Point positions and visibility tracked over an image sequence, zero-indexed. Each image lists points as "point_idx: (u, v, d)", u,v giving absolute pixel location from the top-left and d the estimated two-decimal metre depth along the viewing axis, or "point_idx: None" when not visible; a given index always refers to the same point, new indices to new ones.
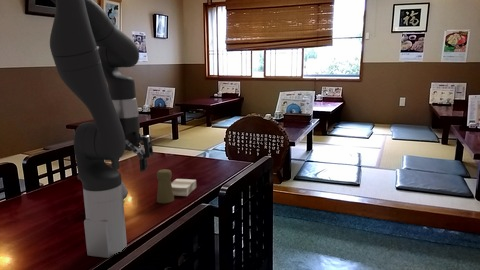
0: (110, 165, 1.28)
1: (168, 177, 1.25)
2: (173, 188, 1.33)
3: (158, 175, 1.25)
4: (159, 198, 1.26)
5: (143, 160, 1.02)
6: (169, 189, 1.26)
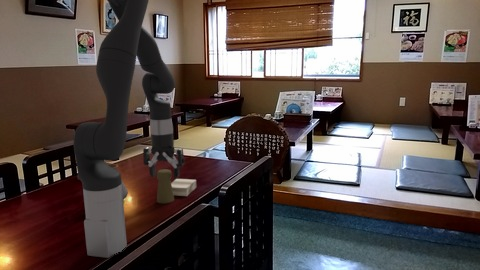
0: (110, 165, 1.28)
1: (168, 177, 1.25)
2: (173, 188, 1.33)
3: (158, 175, 1.25)
4: (159, 198, 1.26)
5: (176, 169, 1.25)
6: (169, 189, 1.26)
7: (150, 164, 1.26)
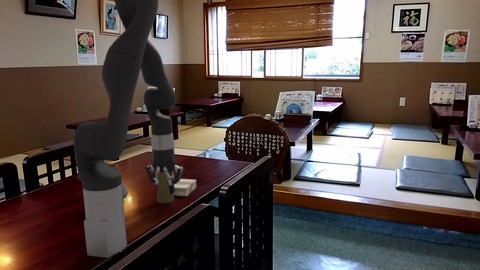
0: (110, 165, 1.28)
1: None
2: None
3: (158, 175, 1.25)
4: (159, 198, 1.26)
5: (171, 186, 1.26)
6: None
7: (157, 182, 1.26)
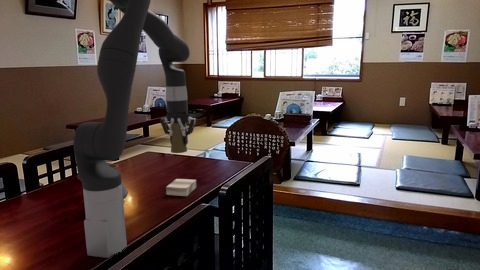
0: (110, 165, 1.28)
1: None
2: (173, 188, 1.33)
3: (172, 126, 1.31)
4: (173, 148, 1.32)
5: (185, 137, 1.32)
6: (182, 140, 1.32)
7: (171, 133, 1.33)
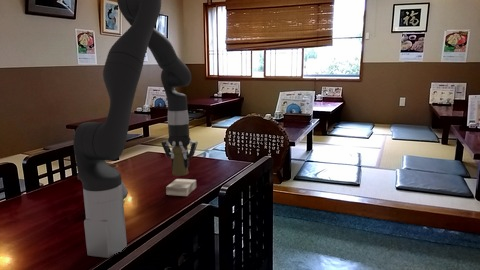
0: (110, 165, 1.28)
1: None
2: (173, 188, 1.33)
3: (174, 149, 1.32)
4: (174, 171, 1.34)
5: (186, 159, 1.34)
6: None
7: (172, 156, 1.34)
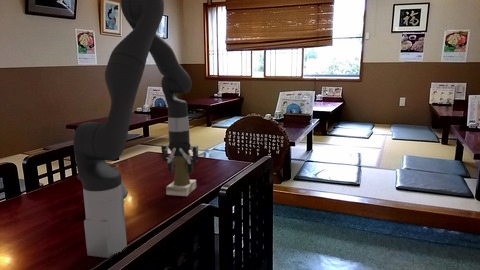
0: (110, 165, 1.28)
1: (185, 161, 1.34)
2: (173, 188, 1.33)
3: (176, 159, 1.33)
4: (176, 181, 1.34)
5: (190, 164, 1.34)
6: (186, 172, 1.35)
7: (169, 160, 1.35)
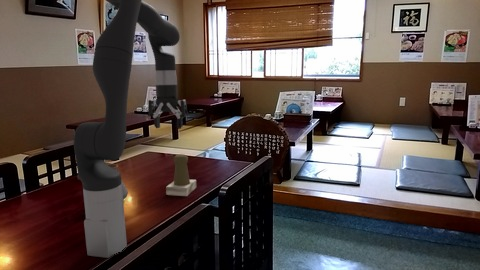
0: (110, 165, 1.28)
1: (185, 161, 1.34)
2: (173, 188, 1.33)
3: (176, 159, 1.33)
4: (176, 181, 1.34)
5: (180, 119, 1.30)
6: (186, 172, 1.35)
7: (155, 115, 1.32)
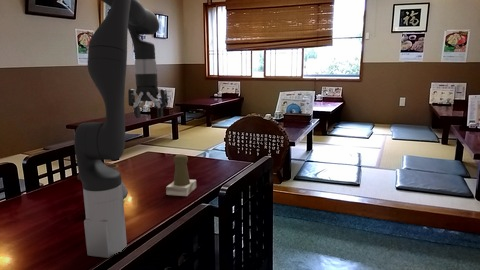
0: (110, 165, 1.28)
1: (185, 161, 1.34)
2: (173, 188, 1.33)
3: (176, 159, 1.33)
4: (176, 181, 1.34)
5: (160, 109, 1.29)
6: (186, 172, 1.35)
7: (135, 105, 1.31)
